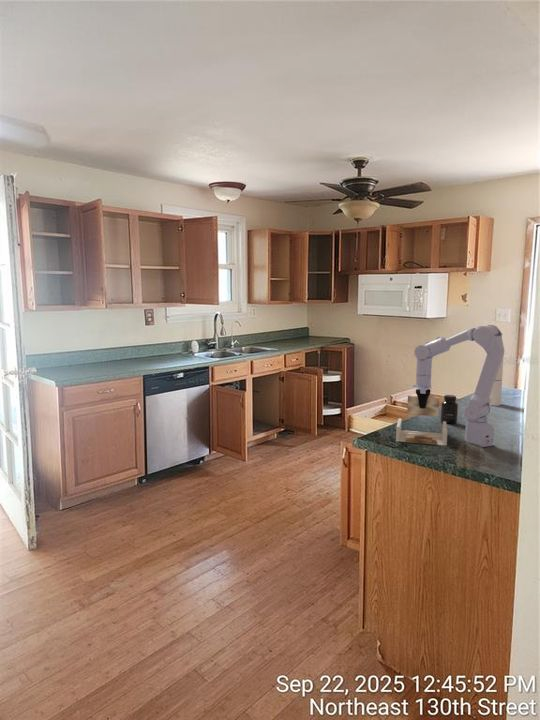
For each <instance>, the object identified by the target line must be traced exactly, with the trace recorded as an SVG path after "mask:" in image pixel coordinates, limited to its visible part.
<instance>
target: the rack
mask: <svg viewBox="0 0 540 720" xmlns="http://www.w3.org/2000/svg"><path fill="white" fill-rule="evenodd" d="M402 420H403V419H402V418H397V424H396V430H395V431H396V432H395V433H396V434H395V441H396V442H402V443H407V442H406V437H407V435H409V436H415V434H422V435H433V439H434V440H437V444H435V445H438V446H447V445H448V443H447V442H448V426H447V425H448V424H446V422H445V421H443V424H442V431H441V432H442V433H441V432H429V431H417V430H407V429H406V430H403V429H402ZM412 443H415V442H412ZM424 444H425V445H427V444H426V443H423V445H424Z"/></svg>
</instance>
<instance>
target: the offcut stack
mask: <svg viewBox="0 0 540 720" xmlns="http://www.w3.org/2000/svg"><path fill="white" fill-rule="evenodd" d="M413 442H415V443H416V444H424V443H426V444H425V445H436V444H437V440H434V439H433V435H422V434H415V436H409V435H407V437H406V442H405V443H413Z"/></svg>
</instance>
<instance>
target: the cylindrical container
mask: <svg viewBox="0 0 540 720" xmlns="http://www.w3.org/2000/svg"><path fill="white" fill-rule="evenodd" d="M504 355H505V354H504ZM504 355H503V358H502V361H501V364H500V367H499V370H498V373H497V376H496V379H495V382H494V385H493V388H492V390H491V393H490V396H489V398H490V400H491V401H490V406H492V405H494V407H497V406H501V403H502V387H503V372H504V370H503V369H504Z"/></svg>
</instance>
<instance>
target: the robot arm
mask: <svg viewBox="0 0 540 720" xmlns="http://www.w3.org/2000/svg"><path fill="white" fill-rule="evenodd" d="M467 341H470V342H473V341H475V343H477V344H478V345H479V346H481V348H483V350H484V351H485V353H486V357H485V359H484V363H483V366H482V369H481V371H480V374H479V375H480V376H479V378H478V381H477V385H476V387H475V390H474V393H473V394H472V396H471V398H470V399H469V400H468V403H467V404H466V405H465V406H464V407H463V415H464V417H465V429H464V430H465V432H464V433H465V435H464V441H465V442H467V443H469V444H470V443H471V444H473V445H476V446H479V447H482V448H486V447H492V446H495V443H494V432H495V431H494V430H495V429H494V426H493V424H491V423H489V422H488V415H489V414H490V412H491V405H490V401H491V400H490V398H489V396H490V393H491V390H492V388H493V385H494V382H495V379H496V376H497V373H498V370H499V367H500V364H501V361H502V358H503V359H504V357H503V355H505V346H504V342H503V333H502V331H501V330H500V329H499V327H498V326H496V325H495V324H488V325H479V326H477V327H472V328H469V329H466V330H464V331H462V332H459V333H457V334H455V335H452V336H451V337H448V338H447V337H443V336H437V337H436V338H435V339H434V340H432V341H425V344H419V345H417V346H416V347H415V349H414V356H415V358H416V369H415V370H416V371H415V373H416V376H415V379H416V380H415V384H414V383H413V384H412V387H413V388H416V389H415V394H416V396H418V400H419V407H420V408H423V409H425V407H426V403H427V399H428V397H430V395H431V388H432V367H433V366H432V365H433V358H434V357H435V356H438V355H440V354H444V353H446V352H448V351H450V349H451V347H452V346H455V345H458V344H460V343H463V342H467Z"/></svg>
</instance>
